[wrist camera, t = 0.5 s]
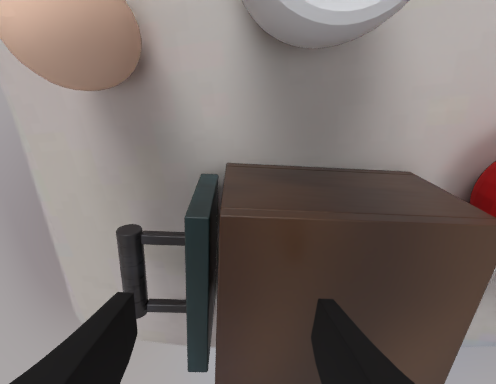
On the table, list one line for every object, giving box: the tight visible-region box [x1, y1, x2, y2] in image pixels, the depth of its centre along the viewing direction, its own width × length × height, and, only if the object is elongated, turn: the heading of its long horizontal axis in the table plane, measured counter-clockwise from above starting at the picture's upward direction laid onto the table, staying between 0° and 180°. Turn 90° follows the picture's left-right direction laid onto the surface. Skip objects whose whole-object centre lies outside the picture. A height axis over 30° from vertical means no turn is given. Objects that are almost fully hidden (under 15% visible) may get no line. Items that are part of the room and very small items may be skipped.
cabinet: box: [215, 163, 496, 384], centre depth 19 cm, size 14×12×9 cm
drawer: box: [116, 174, 218, 372], centre depth 19 cm, size 17×10×7 cm, turn 87°
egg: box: [0, 0, 141, 91], centre depth 14 cm, size 5×5×8 cm
